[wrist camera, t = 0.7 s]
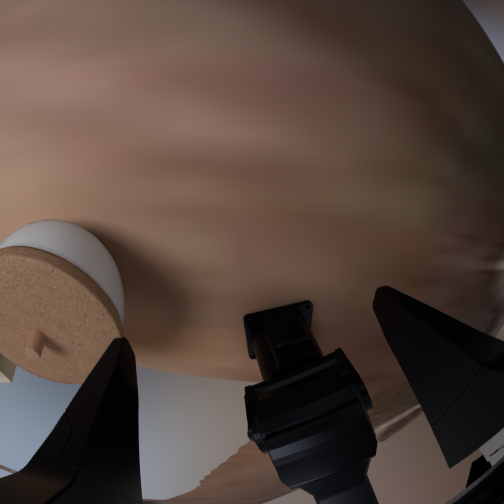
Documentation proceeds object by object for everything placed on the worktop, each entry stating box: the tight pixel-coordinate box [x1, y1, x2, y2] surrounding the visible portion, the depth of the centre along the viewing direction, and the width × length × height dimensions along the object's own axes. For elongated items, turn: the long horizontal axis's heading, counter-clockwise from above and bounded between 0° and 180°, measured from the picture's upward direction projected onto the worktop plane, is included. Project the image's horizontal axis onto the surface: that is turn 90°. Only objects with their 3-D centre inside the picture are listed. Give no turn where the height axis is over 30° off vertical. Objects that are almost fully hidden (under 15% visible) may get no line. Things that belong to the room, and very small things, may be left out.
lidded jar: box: [0, 219, 125, 384], centre depth 16 cm, size 11×11×9 cm
